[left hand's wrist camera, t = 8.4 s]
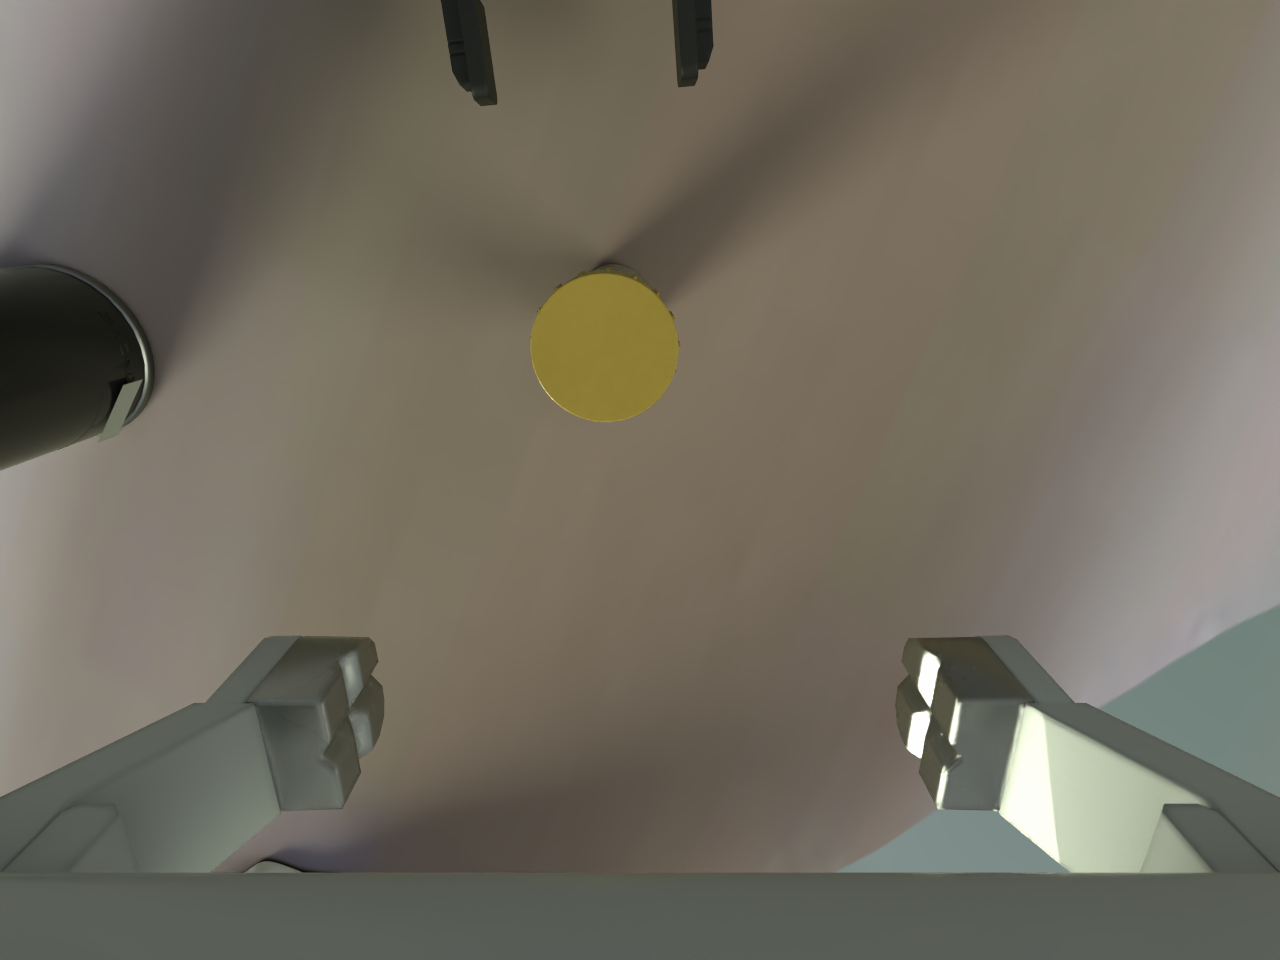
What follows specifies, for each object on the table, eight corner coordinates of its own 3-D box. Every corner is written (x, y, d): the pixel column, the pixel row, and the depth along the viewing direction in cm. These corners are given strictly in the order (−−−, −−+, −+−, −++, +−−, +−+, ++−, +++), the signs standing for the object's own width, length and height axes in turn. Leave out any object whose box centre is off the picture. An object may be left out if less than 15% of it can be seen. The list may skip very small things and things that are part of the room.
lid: (674, 264, 23) (680, 267, 21) (677, 405, 24) (682, 421, 22) (531, 270, 23) (521, 273, 20) (543, 411, 24) (536, 427, 22)
